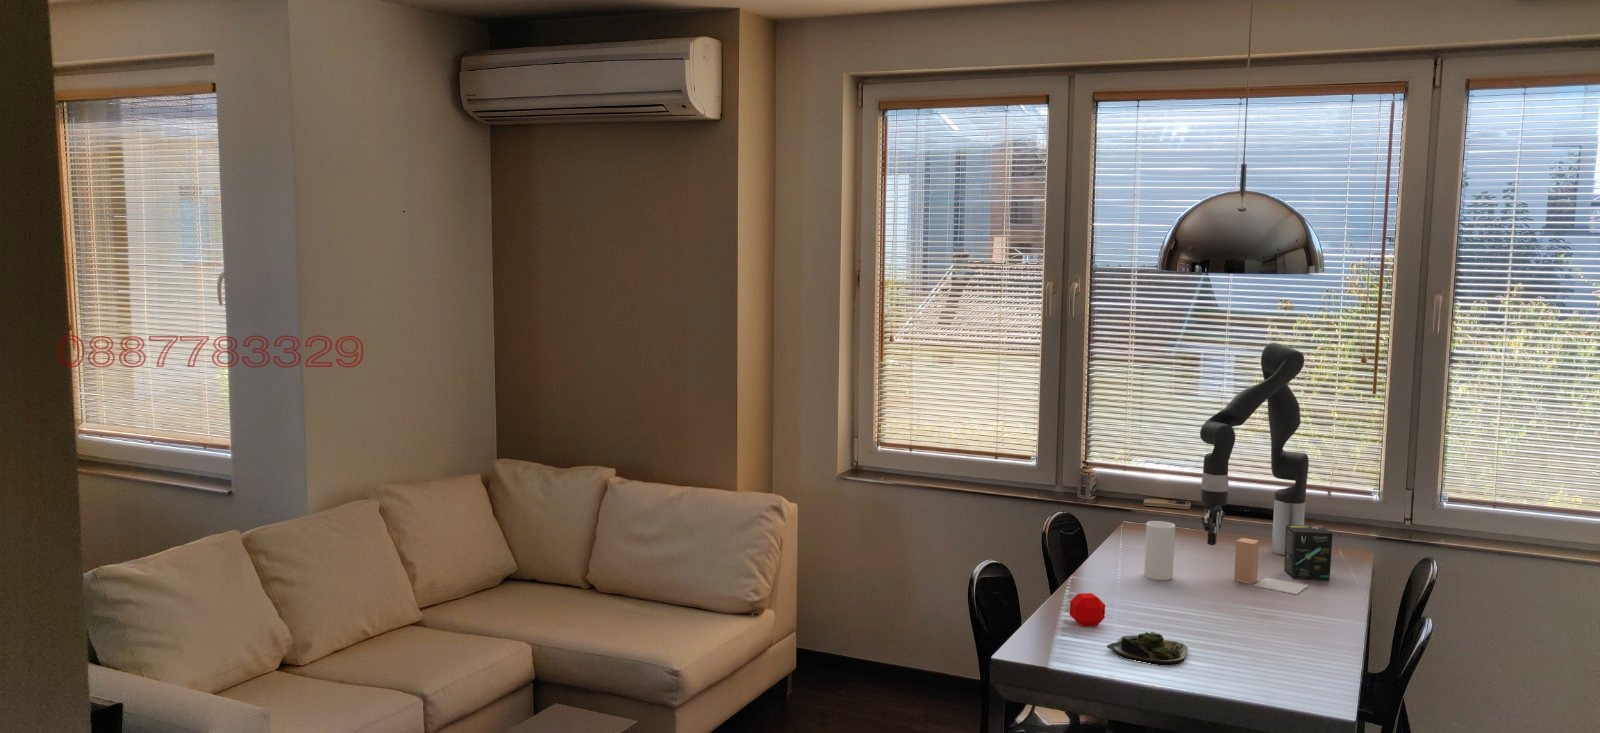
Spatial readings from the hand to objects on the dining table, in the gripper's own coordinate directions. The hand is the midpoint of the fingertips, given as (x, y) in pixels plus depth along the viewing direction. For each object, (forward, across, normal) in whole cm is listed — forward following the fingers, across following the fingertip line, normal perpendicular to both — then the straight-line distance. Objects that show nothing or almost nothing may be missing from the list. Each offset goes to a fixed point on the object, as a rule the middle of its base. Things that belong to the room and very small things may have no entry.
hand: (1211, 544), depth 343 cm
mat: (+9, 0, -21) cm, 22 cm away
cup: (+9, -14, +10) cm, 20 cm away
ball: (+9, -70, +6) cm, 71 cm away
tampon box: (+9, +18, -22) cm, 30 cm away
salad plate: (+10, -80, -15) cm, 82 cm away
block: (+9, 0, -11) cm, 14 cm away
